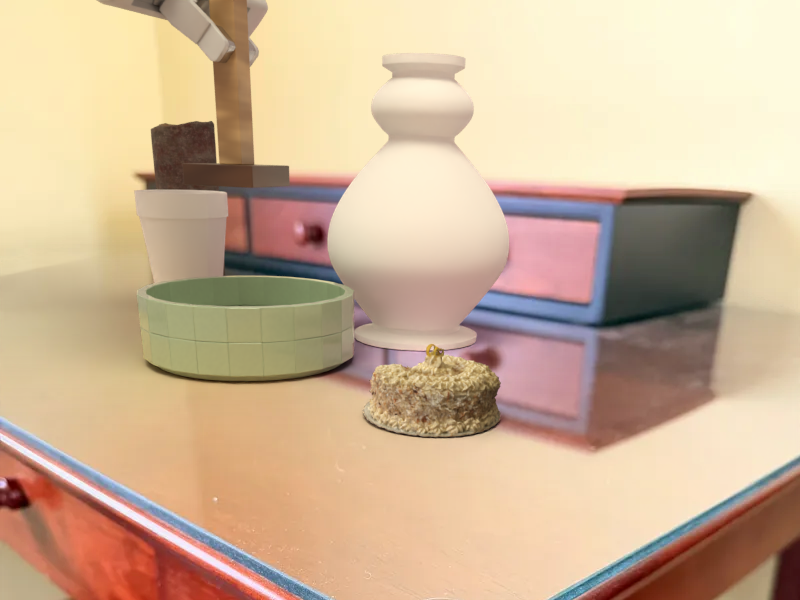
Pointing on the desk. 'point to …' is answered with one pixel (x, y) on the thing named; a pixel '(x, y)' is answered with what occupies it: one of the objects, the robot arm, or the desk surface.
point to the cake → (434, 397)
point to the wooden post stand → (234, 113)
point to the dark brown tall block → (182, 153)
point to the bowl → (246, 326)
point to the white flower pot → (183, 232)
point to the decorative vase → (419, 215)
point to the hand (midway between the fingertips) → (238, 58)
